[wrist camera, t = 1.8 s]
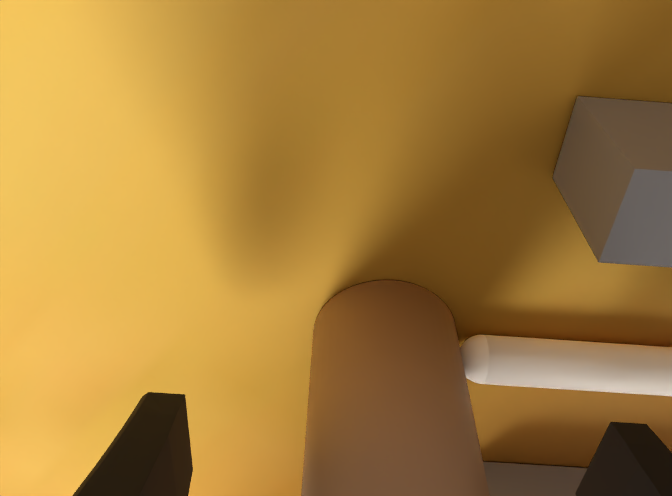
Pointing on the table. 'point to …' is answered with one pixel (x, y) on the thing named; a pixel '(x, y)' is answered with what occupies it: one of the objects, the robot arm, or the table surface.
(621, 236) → the dark grey tray
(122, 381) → the table surface
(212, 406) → the table surface
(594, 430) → the table surface
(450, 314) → the tethered block
